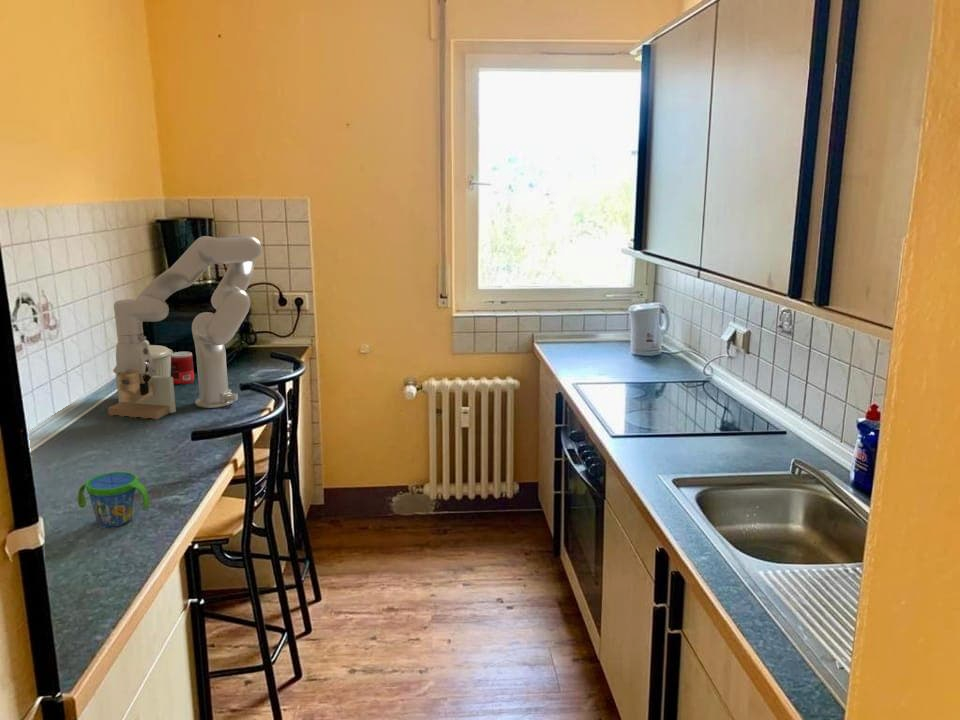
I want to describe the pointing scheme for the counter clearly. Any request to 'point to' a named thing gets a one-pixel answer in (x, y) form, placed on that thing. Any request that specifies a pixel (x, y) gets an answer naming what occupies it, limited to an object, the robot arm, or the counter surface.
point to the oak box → (132, 387)
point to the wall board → (148, 401)
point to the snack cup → (113, 497)
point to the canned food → (182, 367)
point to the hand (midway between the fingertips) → (137, 393)
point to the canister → (160, 359)
